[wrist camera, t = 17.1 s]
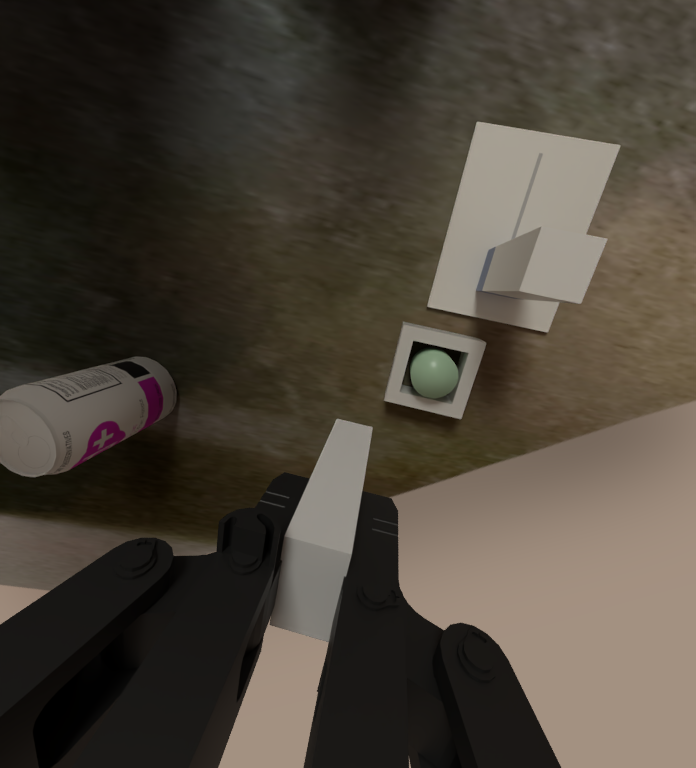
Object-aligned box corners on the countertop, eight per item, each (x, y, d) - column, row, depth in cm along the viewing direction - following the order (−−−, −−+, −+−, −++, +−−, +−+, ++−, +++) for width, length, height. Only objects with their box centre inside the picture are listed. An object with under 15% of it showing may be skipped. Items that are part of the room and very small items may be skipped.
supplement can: (193, 394, 40) (81, 451, 26) (152, 429, 43) (29, 499, 28) (147, 342, 39) (5, 371, 25) (108, 380, 42) (-43, 428, 27)
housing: (402, 321, 34) (403, 324, 31) (479, 338, 34) (486, 342, 31) (385, 392, 37) (384, 400, 34) (456, 409, 36) (461, 419, 33)
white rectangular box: (488, 249, 31) (541, 226, 19) (529, 257, 31) (607, 238, 19) (475, 290, 32) (519, 291, 21) (514, 298, 32) (580, 303, 20)
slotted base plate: (476, 123, 29) (477, 121, 28) (617, 147, 28) (620, 145, 27) (426, 306, 33) (427, 306, 33) (545, 332, 32) (547, 332, 32)
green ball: (415, 342, 34) (417, 348, 31) (457, 352, 34) (464, 359, 30) (405, 381, 36) (405, 392, 32) (445, 391, 35) (450, 403, 32)
